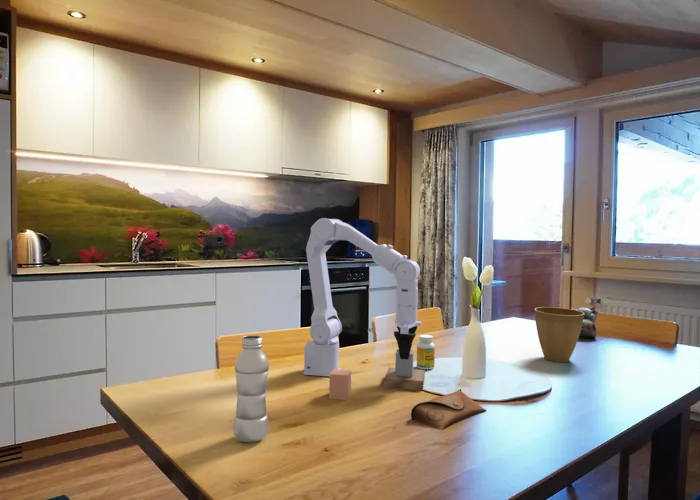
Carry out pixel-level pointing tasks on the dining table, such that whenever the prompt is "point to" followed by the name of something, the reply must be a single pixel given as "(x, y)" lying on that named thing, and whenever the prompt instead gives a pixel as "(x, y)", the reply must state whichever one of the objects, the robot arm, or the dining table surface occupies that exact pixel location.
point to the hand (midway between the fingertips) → (405, 355)
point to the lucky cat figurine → (588, 322)
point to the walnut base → (405, 380)
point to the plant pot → (558, 331)
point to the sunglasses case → (445, 410)
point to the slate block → (404, 365)
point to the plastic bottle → (251, 391)
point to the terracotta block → (340, 384)
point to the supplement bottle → (425, 352)
